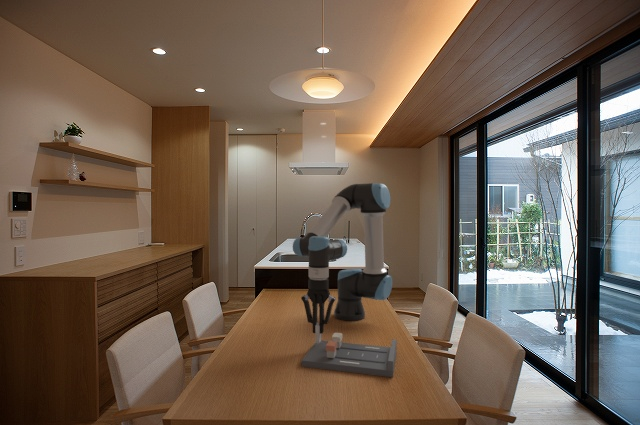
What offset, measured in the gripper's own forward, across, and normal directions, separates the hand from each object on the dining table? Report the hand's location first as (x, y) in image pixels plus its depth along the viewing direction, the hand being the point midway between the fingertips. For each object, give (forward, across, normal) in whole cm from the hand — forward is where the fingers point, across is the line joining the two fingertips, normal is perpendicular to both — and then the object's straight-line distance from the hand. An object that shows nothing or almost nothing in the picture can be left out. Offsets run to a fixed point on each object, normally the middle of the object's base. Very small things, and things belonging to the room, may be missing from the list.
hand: (318, 341), depth 138 cm
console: (+3, +13, -4) cm, 14 cm away
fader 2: (+1, +7, 0) cm, 7 cm away
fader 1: (+1, +7, -9) cm, 12 cm away
